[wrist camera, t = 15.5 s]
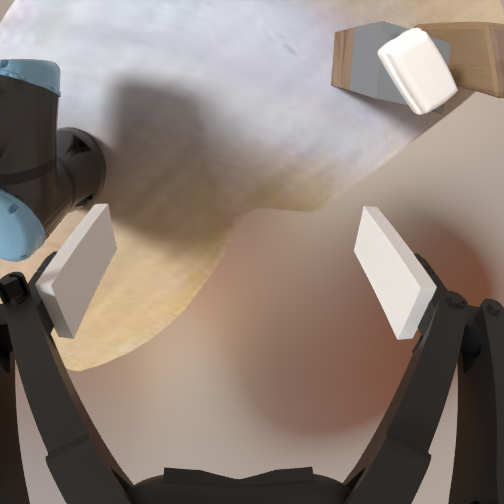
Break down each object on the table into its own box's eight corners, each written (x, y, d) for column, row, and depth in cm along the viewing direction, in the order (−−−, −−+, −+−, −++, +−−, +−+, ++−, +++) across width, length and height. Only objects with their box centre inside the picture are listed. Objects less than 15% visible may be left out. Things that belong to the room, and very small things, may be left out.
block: (464, 75, 42) (541, 97, 25) (422, 79, 43) (499, 100, 26) (454, 24, 36) (533, 28, 20) (410, 25, 38) (487, 21, 21)
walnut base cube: (330, 85, 44) (349, 90, 37) (335, 32, 40) (354, 27, 32) (382, 93, 45) (407, 101, 37) (387, 43, 40) (414, 42, 33)
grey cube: (349, 90, 37) (375, 98, 29) (354, 27, 32) (382, 21, 24) (407, 101, 37) (441, 113, 30) (413, 42, 33) (450, 43, 25)
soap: (453, 90, 28) (467, 94, 26) (414, 118, 30) (427, 123, 28) (416, 23, 24) (429, 22, 22) (372, 51, 26) (384, 51, 24)
